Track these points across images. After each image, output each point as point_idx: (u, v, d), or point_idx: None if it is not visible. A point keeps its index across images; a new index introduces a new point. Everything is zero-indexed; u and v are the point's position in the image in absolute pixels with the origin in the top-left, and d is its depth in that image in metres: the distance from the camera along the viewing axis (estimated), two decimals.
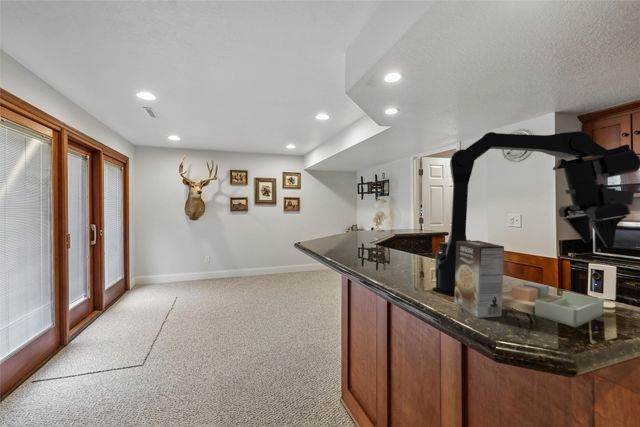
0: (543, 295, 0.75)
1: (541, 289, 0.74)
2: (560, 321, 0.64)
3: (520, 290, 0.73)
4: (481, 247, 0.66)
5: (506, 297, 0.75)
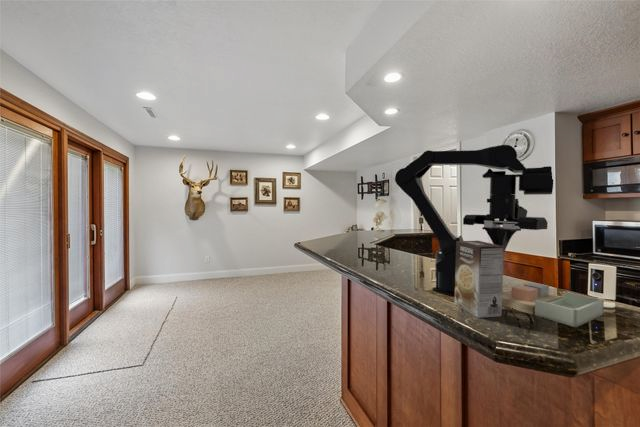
0: (543, 295, 0.75)
1: (541, 289, 0.74)
2: (560, 321, 0.64)
3: (520, 290, 0.73)
4: (481, 247, 0.66)
5: (506, 297, 0.75)
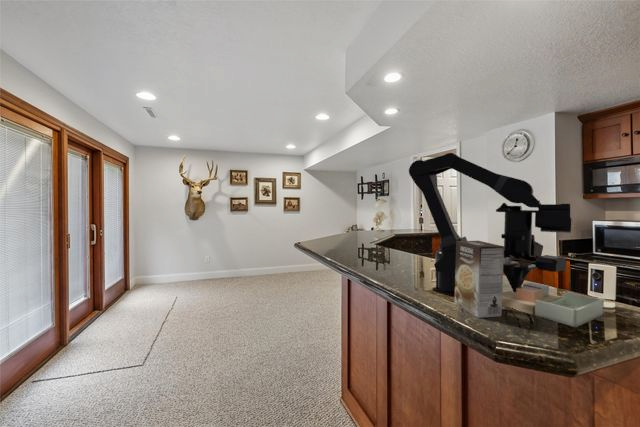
0: (543, 295, 0.75)
1: (541, 289, 0.74)
2: (560, 321, 0.64)
3: (525, 291, 0.72)
4: (481, 247, 0.66)
5: (506, 297, 0.75)
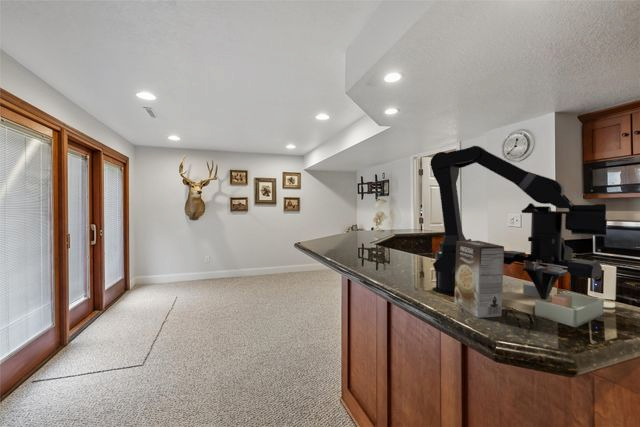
0: None
1: None
2: (560, 321, 0.64)
3: None
4: (481, 247, 0.66)
5: (506, 297, 0.75)
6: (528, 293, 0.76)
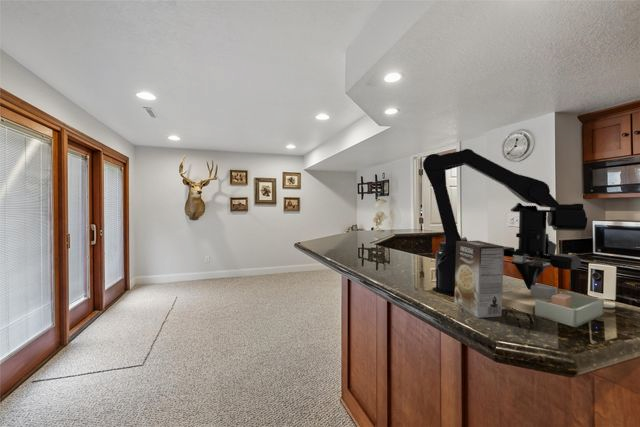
0: (551, 297, 0.73)
1: (549, 291, 0.73)
2: (560, 321, 0.64)
3: None
4: (481, 247, 0.66)
5: (506, 297, 0.75)
6: (536, 294, 0.75)
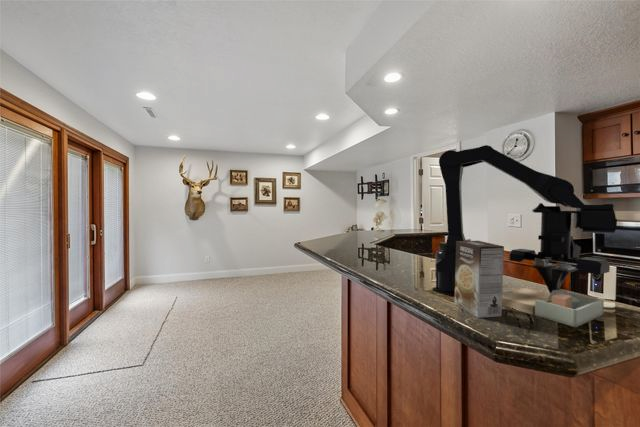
0: None
1: None
2: (560, 321, 0.64)
3: None
4: (481, 247, 0.66)
5: (506, 297, 0.75)
6: None
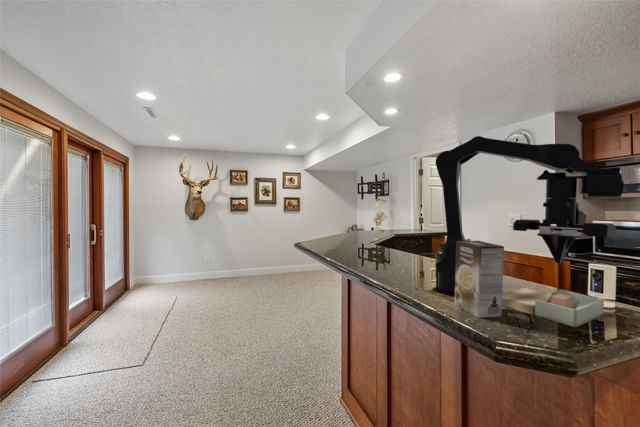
0: None
1: None
2: (560, 321, 0.64)
3: None
4: (481, 247, 0.66)
5: (506, 297, 0.75)
6: None
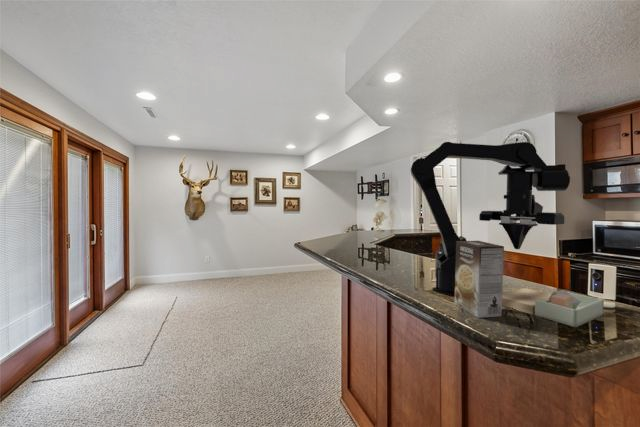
0: None
1: None
2: (560, 321, 0.64)
3: None
4: (481, 247, 0.66)
5: (506, 297, 0.75)
6: None
